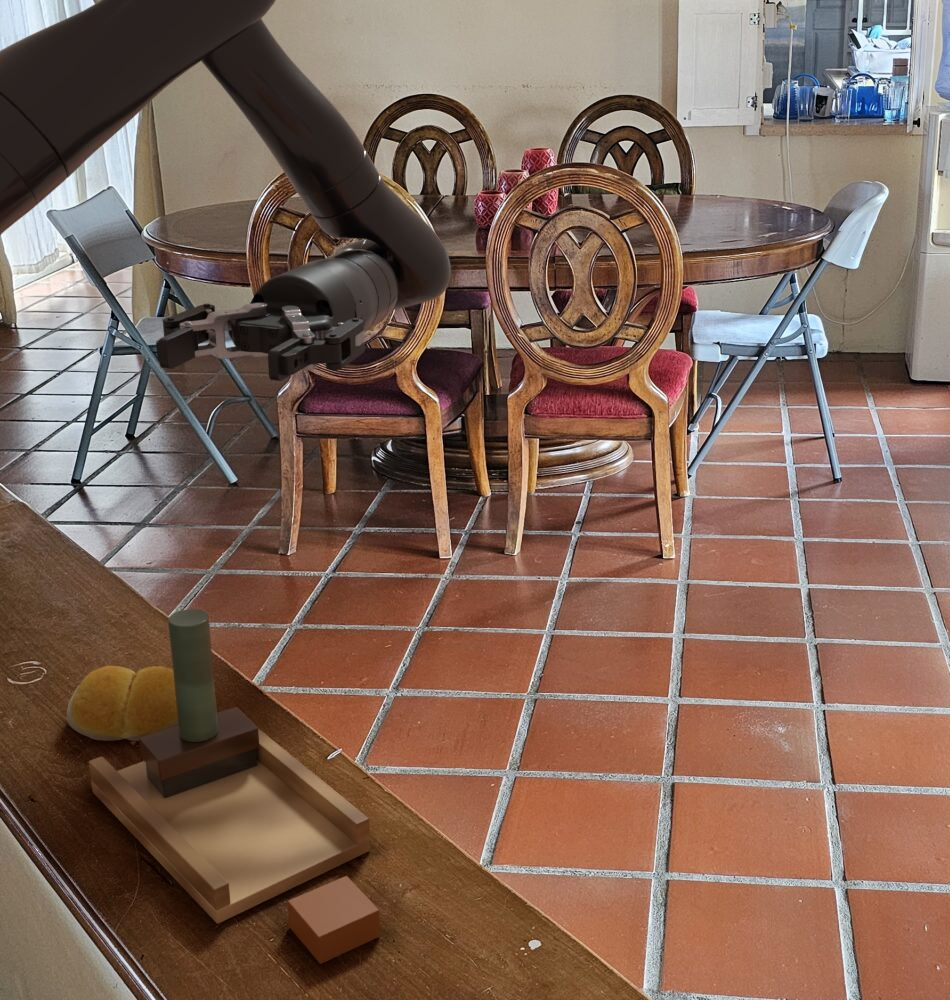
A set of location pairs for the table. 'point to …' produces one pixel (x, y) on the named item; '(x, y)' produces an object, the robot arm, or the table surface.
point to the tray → (238, 828)
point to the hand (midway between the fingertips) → (217, 361)
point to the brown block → (333, 919)
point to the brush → (197, 718)
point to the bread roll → (124, 703)
